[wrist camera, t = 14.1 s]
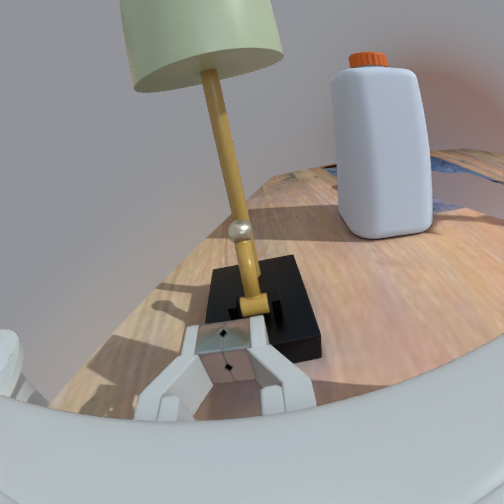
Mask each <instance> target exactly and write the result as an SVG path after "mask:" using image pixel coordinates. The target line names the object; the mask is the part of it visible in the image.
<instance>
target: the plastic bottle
mask: <svg viewBox="0 0 504 504" xmlns="http://www.w3.org/2000/svg"><path fill="white" fill-rule="evenodd" d="M349 62H350V67H351V68H350V69H346V70H344V71H341V72H339V73H337V74H336V75H335V76H333V77H332V79H331V80H330V86H331V94H332V104H333V114H334V126H335V139H336V155H337V178H338V210H339V213H340V215H341V216H342V218H343V219H344V221H345V223H346V224H347V226H348V227H349V229H350V230H351V231H352V232H353V233H354V234H356V235H357V236H360V237H363V238H369V239H379V238H386V237H393V236H399V235H406V234H413V233H419V232H423V231H425V230H427V229H428V228H429V227H430V226H431V224H432V222H433V195H432V176H431V162H430V152H429V143H428V136H427V129H426V122H425V116H424V110H423V105H422V100H421V95H420V90H419V86H418V82H417V78H416V76H415V74H414V73H413V72H411V71H410V70H407V69H398V68H388V64H387V59H386V56H385V55H384V54H382V53H379V52H360V53H355V54H352V55H350V57H349Z"/></svg>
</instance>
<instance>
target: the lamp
mask: <svg viewBox="0 0 504 504" xmlns="http://www.w3.org/2000/svg"><path fill="white" fill-rule="evenodd" d="M120 9H121V17H122V24H123V31H124V37H125V43H126V50H127V55H128V61H129V67H130V72H131V77H132V82H133V87H134V90H135V91H137V92H142V93H149V92H160V91H167V90H173V89H178V88H184V87H189V86H194V85H199V84H203V89H204V93H205V98H206V102H207V107H208V112H209V116H210V120H211V125H212V129H213V134H214V138H215V143H216V147H217V151H218V156H219V160H220V165H221V168H222V173H223V178H224V182H225V186H226V191H227V194H228V199H229V203H230V208H231V211H232V216H233V221H234V220H236V219H244V220H247V221H248V222H249V223H250V220H249V215H248V210H247V206H246V201H245V196H244V192H243V187H242V183H241V178H240V173H239V168H238V164H237V159H236V154H235V150H234V145H233V140H232V136H231V131H230V126H229V122H228V117H227V113H226V109H225V103H224V99H223V95H222V90H221V85H220V80H221V79H226V78H230V77H234V76H238V75H241V74H245V73H249V72H253V71H256V70H259V69H262V68H266V67H268V66H271V65H273V64H275V63H277V62H279V61H281V60H282V59H283V57H284V54H283V50H282V46H281V42H280V38H279V34H278V30H277V26H276V22H275V18H274V14H273V11H272V7H271V3H270V0H120ZM250 242H251V246H252V252H253V257H254V262H255V267H256V272H257V277H258V282H259V288H260V293H261V294H262V293H266V294H267V298H268V303H269V309H270V312H269V313H265V314H259V315H263V316H264V320H265V324H266V329H267V334H268V338H269V344H270V345H272V346H273V347H274V348H275V349H276V350H277V351H279V352H280V353H281V354H282V355H283V356H285V357H286V358H287V359H288V360H289V361H291V362H292V363H298V362H303V361H307V360H312V359H317V358H321V357H322V350H321V334H320V330H319V327H318V324H317V321H316V318H315V315H314V312H313V310H312V307H311V304H310V301H309V298H308V295H307V292H306V289H305V286H304V283H303V280H302V278H301V275H300V272H299V269H298V266H297V264H296V261H295V258H294V255H287V256H282V257H277V258H272V259H266V260H261V261H258V258H257V253H256V248H255V243H254V239H253V235H252V238H251V239H250ZM241 297H245V294H244V289H243V284H242V279H241V274H240V269H239V265H235V266H229V267H224V268H219V269H213V273H212V280H211V286H210V293H209V299H208V306H207V313H206V320H205V324H210V323H218V322H226V321H232V320H238V319H244V318H250V317H254V316H259V315H254V316H248V317H243V315H242V312H241V308H240V298H241Z"/></svg>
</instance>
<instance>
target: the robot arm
mask: <svg viewBox="0 0 504 504" xmlns="http://www.w3.org/2000/svg"><path fill="white" fill-rule="evenodd" d="M247 380H257V381H258V383H259V384H260V385H261V386H262V387H263V388H262V389H261V407H262V415H261V416H253V417H245V418H234V419H222V420H205V421H196V420H195V419H194V417H193V415H194V413H195V412H196V411H197V409H198V408H199V406H200V405H201V403H202V402H203V400H204V399H205V397H206V396H207V394H208V393H209V391H210V390H211V388H212V387H213V384H221V383H229V382H237V381H247ZM0 504H504V333H503V334H502V335H500V336H498V337H497V338H495V339H493V340H491V341H490V342H488V343H486V344H484V345H483V346H481V347H479V348H477V349H475V350H473V351H471V352H469V353H467V354H465V355H463V356H461V357H459V358H457V359H455V360H453V361H451V362H449V363H446V364H444V365H442V366H440V367H437V368H435V369H433V370H430V371H428V372H425V373H423V374H421V375H418V376H415V377H413V378H410V379H408V380H405V381H402V382H399V383H397V384H394V385H391V386H388V387H385V388H382V389H379V390H375V391H372V392H369V393H366V394H362V395H359V396H355V397H352V398H348V399H344V400H340V401H336V402H332V403H328V404H323V405H319V406H317V404H316V399H315V395H314V391H313V386H312V382H311V378H310V377H309V376H308V375H306V374H305V373H304V372H303V371H302V370H300V369H299V368H298V367H297V366H295V365H294V364H293V363H292V362H291V361H289V360H288V359H287V358H286V357H285V356H283V355H282V354H281V353H280V352H279V351H277V350H276V349H275V348H274V347H273V346H272V345H270V344H269V338H268V334H267V329H266V324H265V320H264V316H263V315H259V316H254V317H250V318H244V319H238V320H232V321H226V322H218V323H210V324H201V325H194V326H188V327H187V328H186V331H185V336H184V340H183V345H182V350H181V355H180V356H178V357H176V358H175V359H174V360H173V361H172V362H171V363H170V364H169V365H168V366H167V367H166V368H165V369H164V370H163V371H162V372H161V373H160V374H159V375H158V376H157V377H156V378H155V379H154V380H153V381H152V382H151V383H150V384H149V385H148V386H147V387H146V388H145V389H144V390H143V391H142V392H141V393H140V394H139V396H138V400H137V404H136V408H135V412H134V416H133V420H130V419H118V418H108V417H99V416H91V415H84V414H78V413H72V412H67V411H61V410H56V409H51V408H47V407H43V406H38V405H34V404H30V403H27V402H23V401H19V400H16V399H13V398H9V397H6V396H3V395H0Z"/></svg>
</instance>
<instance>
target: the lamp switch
mask: <svg viewBox="0 0 504 504" xmlns="http://www.w3.org/2000/svg"><path fill="white" fill-rule="evenodd" d="M252 235H253V228H252V225H251V224H250V223H249V222H248V221H247V220H244V219H236V220H234V221H233V222H232V223H231V224H230V225H229V227H228V236H229V238H230V240H231V241H232V242H234V243H235V249H236V254H237V259H238V264H239V269H240V274H241V279H242V284H243V289H244V294H245V297H241V298H240V308H241V312H242V315H243V317H248V316H254V315H259V314H265V313H269V312H270V309H269V303H268V298H267V294H266V293H262V294H261V293H260V288H259V282H258V277H257V272H256V267H255V262H254V257H253V252H252V246H251V242H250V239H251V238H252Z"/></svg>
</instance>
